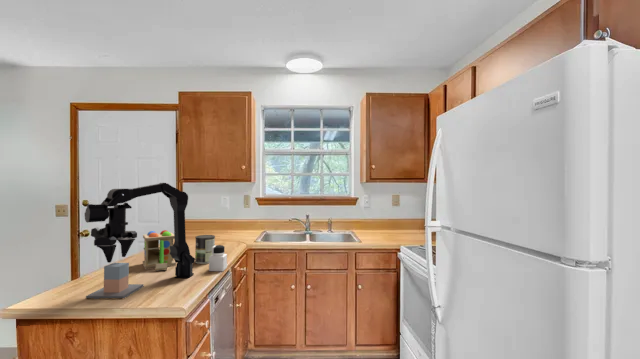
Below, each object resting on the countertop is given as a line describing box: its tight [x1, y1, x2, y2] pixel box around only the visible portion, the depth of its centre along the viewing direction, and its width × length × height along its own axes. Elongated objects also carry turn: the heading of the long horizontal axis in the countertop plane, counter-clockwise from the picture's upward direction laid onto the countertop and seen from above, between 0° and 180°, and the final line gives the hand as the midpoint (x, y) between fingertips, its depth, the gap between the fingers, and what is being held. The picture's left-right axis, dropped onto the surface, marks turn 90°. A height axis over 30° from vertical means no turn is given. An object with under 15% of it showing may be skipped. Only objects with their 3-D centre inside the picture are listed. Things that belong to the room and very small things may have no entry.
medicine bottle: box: [208, 244, 228, 272], centre depth 161 cm, size 7×7×12 cm
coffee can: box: [194, 234, 216, 265], centre depth 177 cm, size 10×10×14 cm
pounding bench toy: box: [142, 229, 177, 272], centre depth 167 cm, size 23×14×18 cm, turn 34°
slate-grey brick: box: [103, 262, 130, 280], centre depth 127 cm, size 6×6×5 cm
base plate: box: [85, 283, 145, 300], centre depth 127 cm, size 14×14×1 cm
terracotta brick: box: [103, 275, 130, 292], centre depth 127 cm, size 6×6×5 cm
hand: (116, 259), depth 127 cm, fingers open, 9 cm apart
